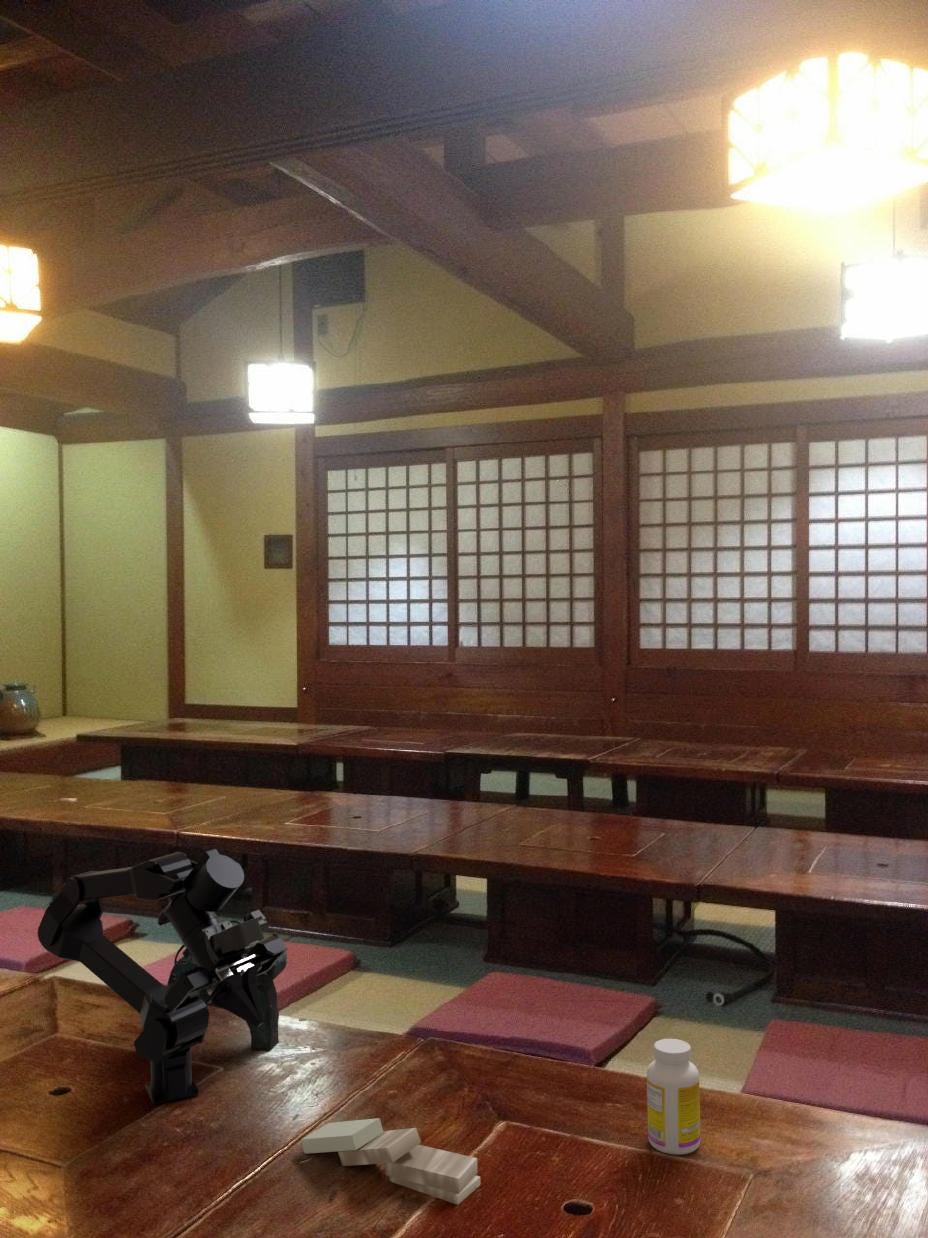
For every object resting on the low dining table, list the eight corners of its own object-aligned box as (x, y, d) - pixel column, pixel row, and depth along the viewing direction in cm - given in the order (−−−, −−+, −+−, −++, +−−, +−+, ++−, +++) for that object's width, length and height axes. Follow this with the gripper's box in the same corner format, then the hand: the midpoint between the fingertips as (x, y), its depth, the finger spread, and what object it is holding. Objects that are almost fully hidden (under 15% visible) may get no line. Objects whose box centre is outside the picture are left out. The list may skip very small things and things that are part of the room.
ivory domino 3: (389, 1173, 137) (457, 1196, 131) (413, 1155, 141) (480, 1176, 135) (389, 1187, 137) (458, 1211, 131) (413, 1169, 141) (480, 1191, 135)
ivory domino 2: (385, 1161, 136) (459, 1179, 132) (405, 1141, 140) (477, 1158, 136) (385, 1175, 136) (459, 1194, 132) (405, 1155, 141) (477, 1172, 136)
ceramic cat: (291, 1041, 179) (288, 917, 178) (275, 1058, 173) (272, 930, 172) (177, 1031, 184) (174, 911, 183) (158, 1048, 177) (154, 923, 176)
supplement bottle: (703, 1135, 146) (702, 1038, 146) (697, 1160, 140) (695, 1059, 139) (652, 1128, 148) (651, 1032, 148) (643, 1152, 142) (642, 1053, 142)
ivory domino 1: (337, 1152, 141) (387, 1148, 134) (366, 1133, 144) (416, 1128, 138) (342, 1166, 140) (393, 1162, 134) (370, 1146, 144) (421, 1142, 138)
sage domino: (300, 1139, 144) (351, 1135, 138) (328, 1123, 148) (379, 1118, 142) (304, 1153, 144) (356, 1150, 137) (332, 1137, 147) (383, 1132, 141)
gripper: (176, 915, 146) (239, 1015, 140) (276, 880, 161) (336, 969, 156) (138, 963, 151) (197, 1062, 145) (238, 925, 166) (295, 1013, 160)
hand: (260, 1024), depth 151 cm, fingers closed
